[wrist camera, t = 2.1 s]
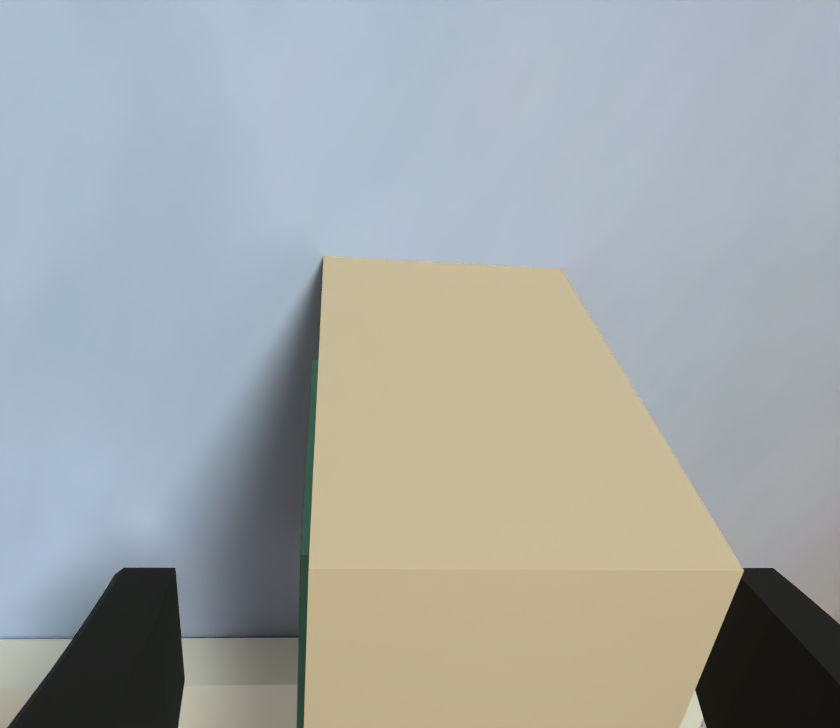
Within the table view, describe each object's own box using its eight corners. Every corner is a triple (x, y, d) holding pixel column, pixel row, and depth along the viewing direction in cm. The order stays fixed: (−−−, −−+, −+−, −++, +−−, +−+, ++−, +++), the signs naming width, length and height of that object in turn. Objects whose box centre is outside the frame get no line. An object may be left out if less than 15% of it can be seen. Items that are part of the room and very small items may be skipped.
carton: (561, 267, 13) (744, 571, 7) (508, 534, 16) (606, 903, 10) (317, 254, 13) (297, 568, 7) (309, 532, 16) (289, 920, 10)
